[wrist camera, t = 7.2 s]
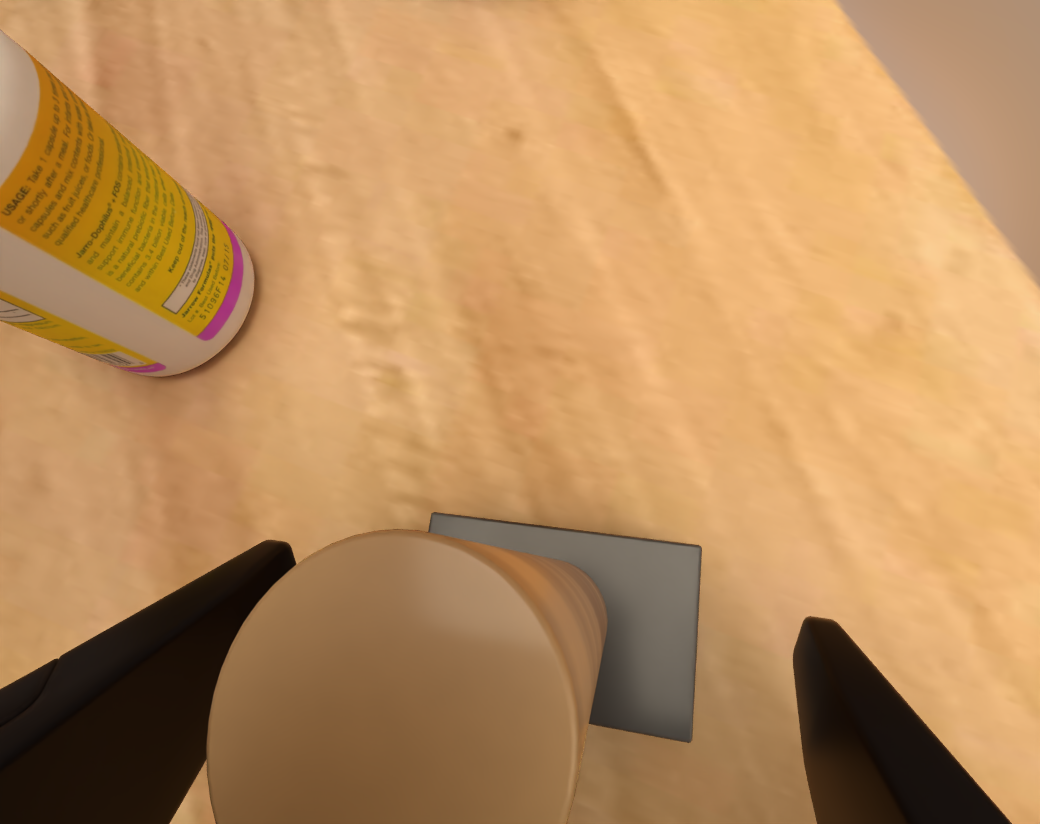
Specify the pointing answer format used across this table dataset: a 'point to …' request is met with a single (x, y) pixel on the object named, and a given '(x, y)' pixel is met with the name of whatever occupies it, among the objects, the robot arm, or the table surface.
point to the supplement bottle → (106, 237)
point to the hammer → (450, 674)
